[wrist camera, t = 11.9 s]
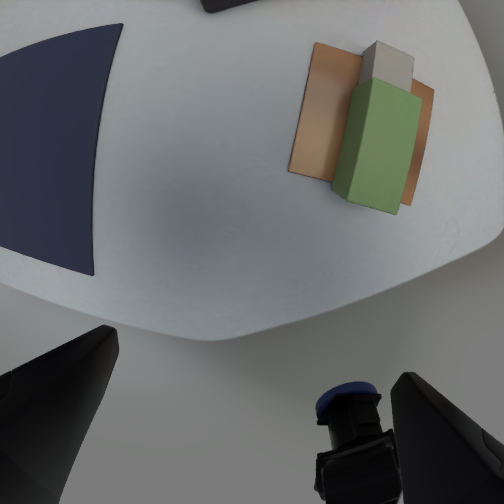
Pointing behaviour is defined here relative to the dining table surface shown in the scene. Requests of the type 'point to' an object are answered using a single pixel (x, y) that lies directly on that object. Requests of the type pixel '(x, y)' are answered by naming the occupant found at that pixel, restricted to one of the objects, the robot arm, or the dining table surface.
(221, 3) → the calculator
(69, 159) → the napkin
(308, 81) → the coaster
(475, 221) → the dining table surface
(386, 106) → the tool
